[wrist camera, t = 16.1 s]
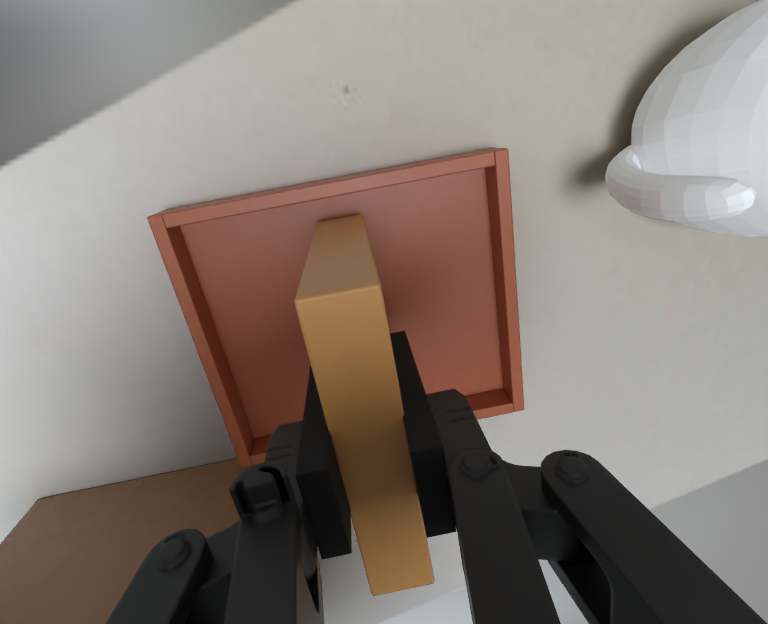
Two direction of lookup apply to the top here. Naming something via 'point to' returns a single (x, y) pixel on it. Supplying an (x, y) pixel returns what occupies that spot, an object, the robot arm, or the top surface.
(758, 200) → the cat figurine
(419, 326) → the tray
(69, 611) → the toaster
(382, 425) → the toast
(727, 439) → the top surface
